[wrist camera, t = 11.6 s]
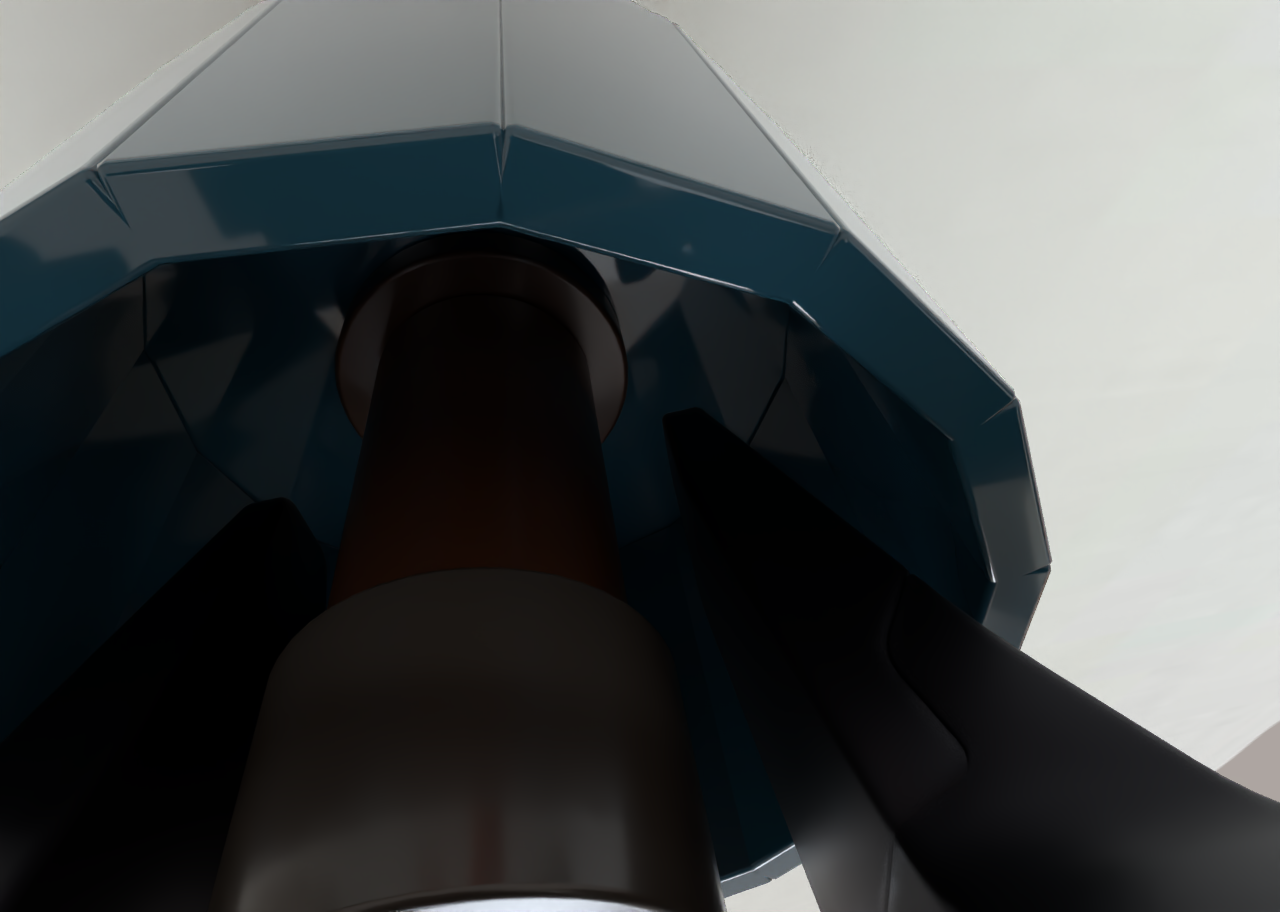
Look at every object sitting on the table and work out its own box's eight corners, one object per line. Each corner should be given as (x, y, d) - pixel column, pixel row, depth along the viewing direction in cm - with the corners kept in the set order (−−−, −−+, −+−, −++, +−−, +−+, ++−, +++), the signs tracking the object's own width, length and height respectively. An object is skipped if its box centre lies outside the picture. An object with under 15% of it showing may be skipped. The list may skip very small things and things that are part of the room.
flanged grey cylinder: (516, 505, 12) (534, 1125, 6) (287, 385, 10) (30, 1098, 5) (679, 337, 11) (888, 944, 5) (446, 166, 9) (354, 806, 3)
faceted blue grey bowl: (548, 634, 15) (571, 1002, 10) (1, 397, 11) (-388, 858, 6) (937, 285, 11) (1236, 608, 7) (360, -297, 7) (87, -512, 2)
